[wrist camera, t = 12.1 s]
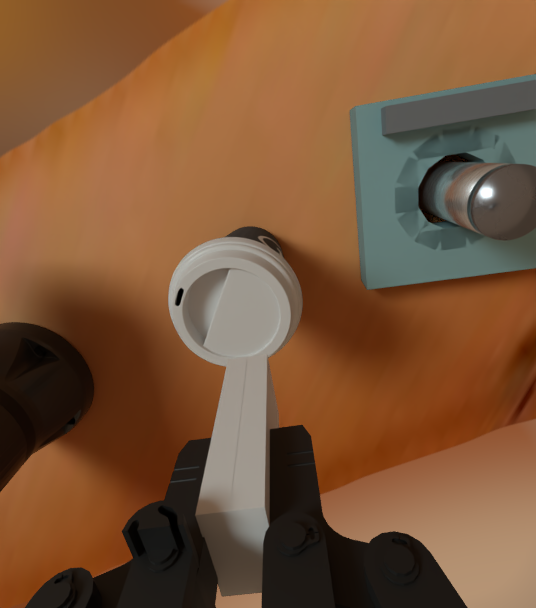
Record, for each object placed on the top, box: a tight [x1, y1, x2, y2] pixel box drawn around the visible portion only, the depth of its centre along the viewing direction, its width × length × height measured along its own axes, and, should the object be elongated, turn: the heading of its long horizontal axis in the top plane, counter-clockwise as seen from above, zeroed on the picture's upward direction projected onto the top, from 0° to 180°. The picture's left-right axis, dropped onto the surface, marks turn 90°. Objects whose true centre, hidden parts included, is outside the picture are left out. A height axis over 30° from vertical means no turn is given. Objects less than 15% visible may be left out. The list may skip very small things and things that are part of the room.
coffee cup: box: [168, 227, 303, 367], centre depth 31 cm, size 10×10×15 cm
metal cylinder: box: [418, 162, 536, 241], centre depth 29 cm, size 5×5×12 cm
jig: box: [350, 74, 536, 290], centre depth 33 cm, size 16×16×5 cm
